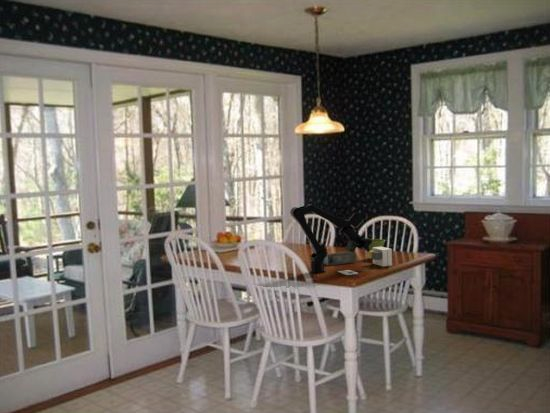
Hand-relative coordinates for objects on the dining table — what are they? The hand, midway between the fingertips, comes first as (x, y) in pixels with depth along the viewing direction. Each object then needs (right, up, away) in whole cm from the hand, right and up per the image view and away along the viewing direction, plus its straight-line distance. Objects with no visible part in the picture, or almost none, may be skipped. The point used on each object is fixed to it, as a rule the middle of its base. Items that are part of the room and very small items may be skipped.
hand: (369, 251), depth 322 cm
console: (+9, -8, +7) cm, 14 cm away
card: (-14, -11, -13) cm, 22 cm away
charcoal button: (+5, -5, +3) cm, 7 cm away
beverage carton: (-15, -9, +17) cm, 24 cm away
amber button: (+3, -4, +8) cm, 10 cm away
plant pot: (+9, -7, +28) cm, 30 cm away
